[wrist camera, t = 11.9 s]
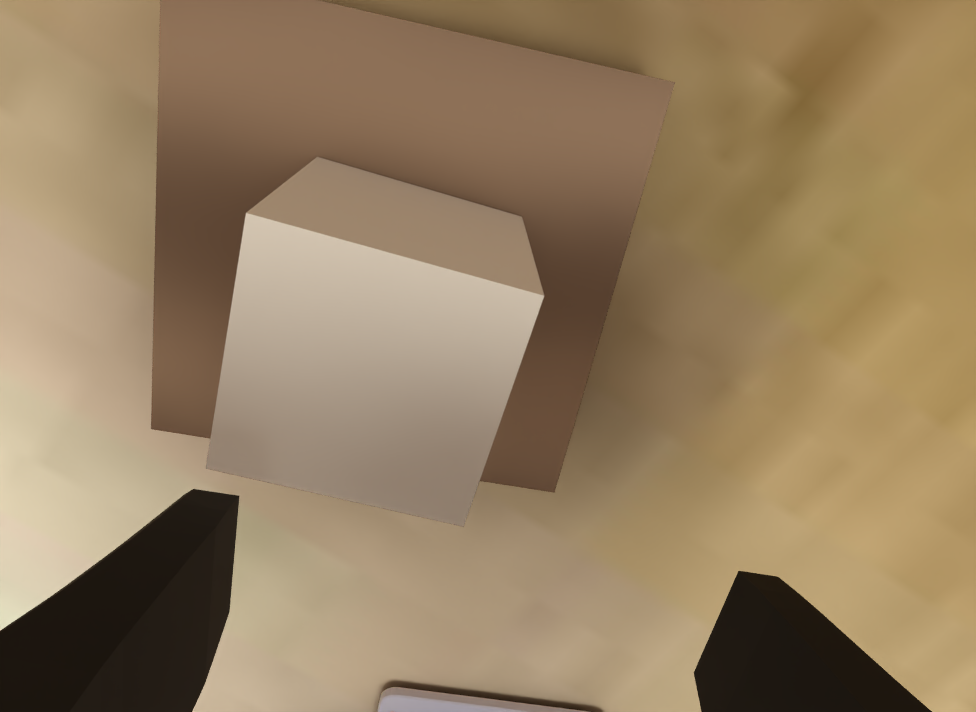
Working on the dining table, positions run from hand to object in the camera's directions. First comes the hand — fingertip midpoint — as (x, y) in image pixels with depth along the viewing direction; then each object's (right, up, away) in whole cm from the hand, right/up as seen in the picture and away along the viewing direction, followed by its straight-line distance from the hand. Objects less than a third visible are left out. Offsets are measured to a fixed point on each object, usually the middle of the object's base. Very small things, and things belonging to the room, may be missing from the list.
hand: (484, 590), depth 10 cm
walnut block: (-2, +6, +8) cm, 11 cm away
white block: (-2, +5, +6) cm, 8 cm away
